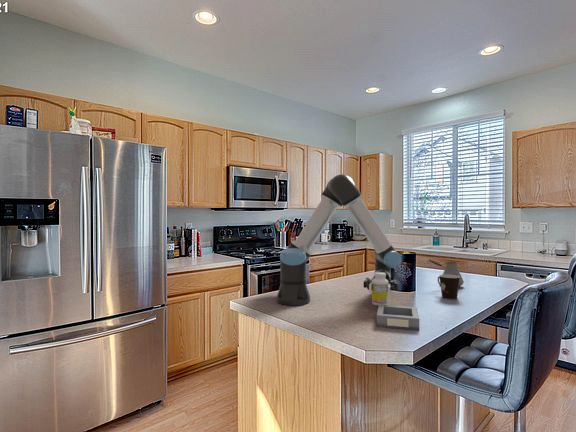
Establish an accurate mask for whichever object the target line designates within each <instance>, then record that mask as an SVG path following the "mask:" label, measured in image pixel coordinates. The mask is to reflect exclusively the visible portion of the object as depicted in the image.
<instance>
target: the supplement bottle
mask: <svg viewBox="0 0 576 432" xmlns="http://www.w3.org/2000/svg"><path fill="white" fill-rule="evenodd" d="M373 274H374V275H373V277H374V276H375V278H374V279H373V280H372V279H371V280H372V291H371V303H372V305H375V306H379V305H389V294H388V280H387V279H385V277H386V273H383V272H375V271H374V273H373Z"/></svg>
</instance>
